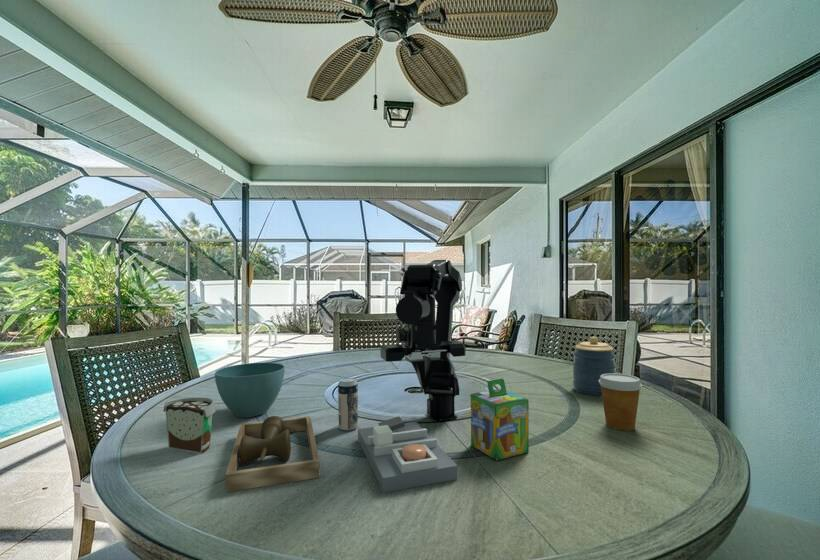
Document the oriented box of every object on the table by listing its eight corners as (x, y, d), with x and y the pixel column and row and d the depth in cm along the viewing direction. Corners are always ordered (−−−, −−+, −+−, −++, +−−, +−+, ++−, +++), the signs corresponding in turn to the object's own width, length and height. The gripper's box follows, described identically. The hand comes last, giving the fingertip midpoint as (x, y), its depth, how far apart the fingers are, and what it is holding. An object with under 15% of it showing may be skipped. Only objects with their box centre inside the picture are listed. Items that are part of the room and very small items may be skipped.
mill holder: (310, 428, 99) (310, 416, 99) (319, 477, 74) (319, 461, 74) (240, 436, 94) (240, 423, 94) (225, 492, 69) (225, 475, 69)
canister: (565, 386, 135) (564, 334, 135) (601, 384, 136) (600, 333, 136) (586, 397, 122) (585, 340, 122) (625, 395, 123) (625, 339, 123)
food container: (228, 443, 90) (228, 399, 90) (206, 454, 84) (206, 407, 84) (187, 436, 94) (187, 394, 94) (163, 447, 88) (163, 402, 88)
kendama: (295, 435, 96) (288, 472, 76) (252, 440, 94) (234, 479, 74) (294, 410, 96) (287, 441, 76) (251, 415, 94) (233, 447, 74)
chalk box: (496, 462, 79) (495, 388, 79) (469, 445, 87) (468, 378, 87) (531, 452, 84) (530, 382, 84) (502, 437, 92) (501, 373, 92)
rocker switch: (399, 420, 92) (398, 416, 92) (404, 426, 88) (403, 421, 88) (379, 427, 91) (378, 423, 91) (383, 433, 87) (382, 429, 87)
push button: (421, 453, 77) (421, 442, 77) (429, 462, 73) (429, 452, 73) (399, 456, 76) (399, 445, 76) (406, 466, 72) (406, 455, 72)
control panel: (415, 432, 96) (415, 415, 96) (457, 479, 73) (457, 457, 73) (358, 439, 91) (358, 422, 91) (383, 492, 68) (383, 469, 68)
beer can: (354, 432, 96) (353, 382, 96) (335, 431, 97) (335, 381, 97) (360, 425, 100) (360, 377, 100) (342, 424, 101) (342, 377, 101)
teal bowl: (199, 419, 106) (199, 373, 106) (250, 399, 123) (249, 360, 123) (252, 427, 99) (251, 379, 99) (298, 406, 116) (297, 364, 116)
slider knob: (387, 441, 83) (387, 424, 83) (392, 449, 79) (392, 431, 79) (373, 443, 82) (373, 426, 82) (377, 451, 78) (377, 433, 78)
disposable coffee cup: (646, 425, 98) (646, 376, 98) (636, 436, 91) (636, 384, 91) (605, 416, 105) (605, 371, 105) (593, 426, 98) (592, 378, 98)
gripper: (446, 315, 100) (447, 377, 100) (374, 318, 95) (375, 383, 95) (466, 319, 90) (467, 388, 90) (386, 322, 84) (387, 396, 84)
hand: (423, 388), depth 90 cm, fingers closed
